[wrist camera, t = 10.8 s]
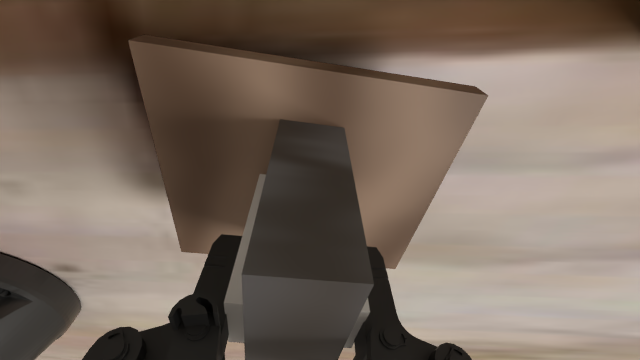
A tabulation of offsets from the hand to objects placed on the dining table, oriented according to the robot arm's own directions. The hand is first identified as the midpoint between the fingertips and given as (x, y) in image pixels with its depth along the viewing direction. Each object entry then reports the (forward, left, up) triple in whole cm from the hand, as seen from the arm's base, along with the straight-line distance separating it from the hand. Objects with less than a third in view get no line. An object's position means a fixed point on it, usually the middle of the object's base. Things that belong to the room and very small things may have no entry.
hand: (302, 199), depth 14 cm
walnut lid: (0, 0, -2) cm, 2 cm away
